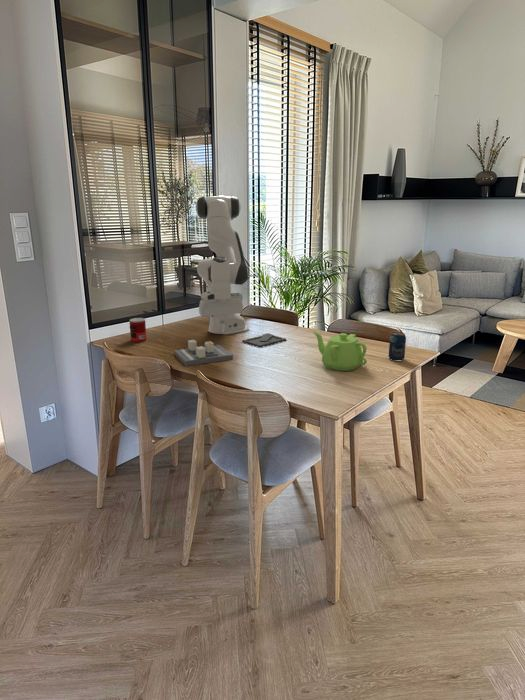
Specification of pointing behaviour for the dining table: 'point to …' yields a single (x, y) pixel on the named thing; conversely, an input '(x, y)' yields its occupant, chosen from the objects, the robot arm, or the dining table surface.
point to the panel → (191, 358)
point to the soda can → (397, 346)
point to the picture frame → (264, 340)
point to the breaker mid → (209, 347)
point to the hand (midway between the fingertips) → (221, 324)
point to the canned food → (138, 329)
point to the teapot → (342, 352)
